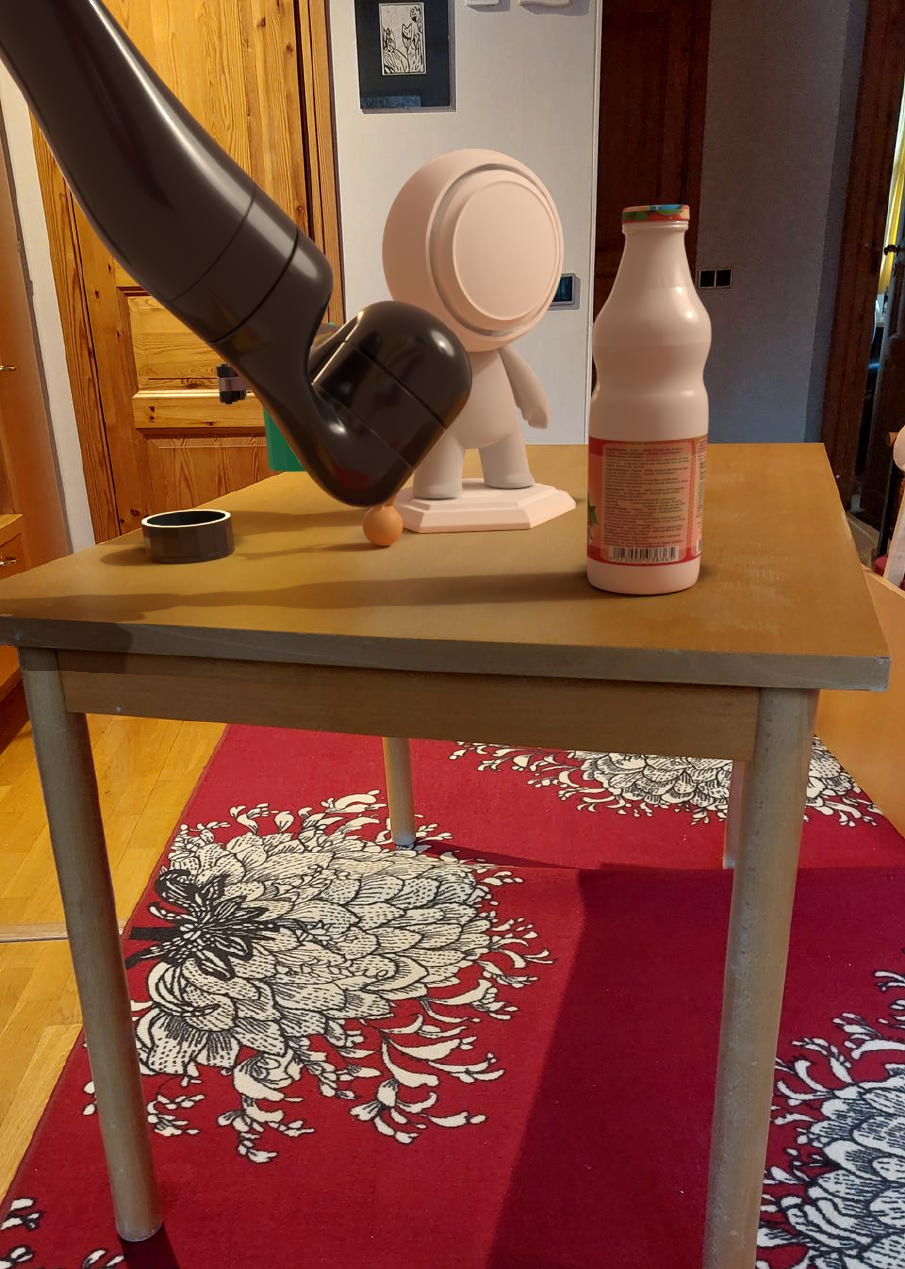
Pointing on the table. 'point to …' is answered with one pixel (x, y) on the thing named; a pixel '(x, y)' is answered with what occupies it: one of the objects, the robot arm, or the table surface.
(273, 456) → the candle
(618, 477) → the fruit juice
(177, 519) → the tape roll
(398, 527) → the figurine
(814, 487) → the table surface
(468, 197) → the big headed doll
